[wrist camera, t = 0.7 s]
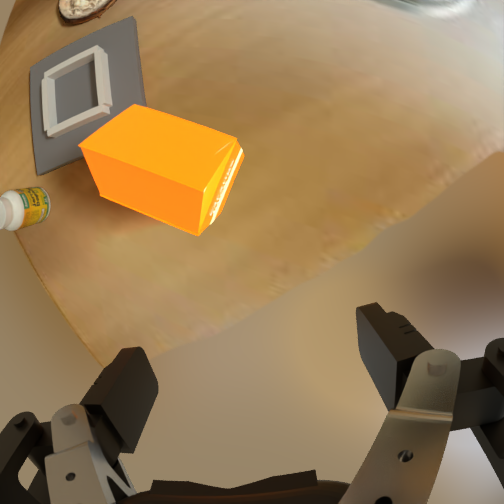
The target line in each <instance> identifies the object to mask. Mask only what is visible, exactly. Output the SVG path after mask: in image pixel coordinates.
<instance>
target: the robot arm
mask: <svg viewBox="0 0 504 504" xmlns="http://www.w3.org/2000/svg"><path fill="white" fill-rule="evenodd" d="M356 320H357V332H358V346H359V351H360V355H361V358H362V361H363V363H364V364H365V366H366V368H367V370H368V372H369V374H370V376H371V378H372V380H373V382H374V384H375V386H376V388H377V390H378V392H379V394H380V396H381V398H382V400H383V402H384V403H385V405H386V407H387V409H388V411H389V412H388V414H387V416H386V418H385V421H384V423H383V425H382V427H381V429H380V431H379V433H378V435H377V437H376V439H375V441H374V443H373V445H372V447H371V449H370V451H369V453H368V455H367V457H366V458H365V460H364V462H363V464H362V466H361V467H360V469H359V471H358V473H357V474H356V476H355V478H354V480H353V481H352V483H351V484H348V483H345V482H339V481H330V480H317V477H316V471H315V470H311V471H305V472H299V473H293V474H287V475H280V476H273V477H269V478H266V479H263V480H260V481H257V482H253V483H250V484H246V485H243V486H239V487H235V488H231V489H225V488H219V487H213V486H208V485H203V484H198V483H193V482H189V481H163V480H153V483H152V486H151V489H150V490H149V491H145V492H140V493H137V492H136V490H135V488H134V486H133V484H132V482H131V480H130V478H129V476H128V474H127V472H126V469H125V467H124V465H123V463H122V461H121V460H120V459H119V457H118V456H119V454H120V453H132V454H133V453H134V451H135V448H136V446H137V443H138V441H139V438H140V436H141V433H142V431H143V428H144V426H145V424H146V421H147V419H148V416H149V414H150V411H151V409H152V406H153V404H154V402H155V399H156V397H157V394H158V381H157V379H156V377H155V374H154V372H153V370H152V367H151V365H150V363H149V361H148V358H147V356H146V354H145V352H144V350H143V349H142V348H141V347H132V348H123V349H121V351H120V352H119V353H118V355H117V356H116V358H115V359H114V360H113V362H112V363H110V364H109V365H108V366H107V367H105V368H104V369H103V371H102V372H101V374H100V375H99V377H98V378H97V379H96V381H95V382H94V385H92V386H91V388H90V389H89V391H88V392H87V393H86V395H85V396H84V398H83V399H82V401H81V402H80V404H70V405H67V406H65V407H63V408H61V409H59V410H58V411H57V412H56V413H55V414H54V415H53V417H52V419H51V421H50V422H43V423H39V421H38V420H37V418H36V417H35V415H34V414H33V413H31V412H22V413H20V414H18V415H16V416H15V417H13V418H12V419H11V420H10V421H9V423H8V424H7V425H6V427H5V428H4V429H3V431H2V432H1V433H0V504H427V501H428V499H429V496H430V493H431V490H432V488H433V485H434V482H435V479H436V476H437V473H438V470H439V467H440V464H441V461H442V458H443V454H444V451H445V447H446V444H447V440H448V436H449V432H450V431H455V430H460V429H466V428H471V430H472V432H473V433H474V435H475V437H476V439H477V440H478V442H479V444H480V445H481V447H482V449H483V451H484V453H485V454H486V456H487V458H488V460H489V461H490V463H491V465H492V467H493V469H494V471H495V473H496V475H497V476H498V478H499V480H500V482H501V484H502V486H503V488H504V338H499V339H495V340H493V341H491V342H490V343H489V344H488V345H487V347H486V349H485V354H484V357H480V358H474V359H468V360H460V359H459V357H458V356H457V355H456V354H455V353H453V352H451V351H448V350H444V349H434V348H433V347H432V346H431V345H430V344H429V342H428V341H427V340H425V338H424V337H423V336H422V335H421V334H420V333H419V332H418V331H416V328H415V327H414V326H412V325H411V323H410V322H409V321H408V320H407V319H406V318H405V317H404V316H402V315H400V314H398V313H395V312H389V313H386V312H385V311H384V310H383V309H382V307H381V306H380V305H379V304H378V303H377V302H375V303H371V304H367V305H364V306H360V307H357V308H356ZM27 457H28V458H29V459H30V460H31V461H32V462H33V463H34V465H35V466H36V467H37V468H38V469H39V470H38V472H37V474H36V476H35V477H34V479H33V481H32V483H31V485H30V487H29V489H28V490H26V489H25V488H24V487H23V486H22V485H21V484H20V482H19V480H18V472H19V470H20V468H21V466H22V465H23V463H24V462H25V460H26V458H27Z"/></svg>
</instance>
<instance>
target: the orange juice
mask: <svg viewBox="0 0 504 504" xmlns="http://www.w3.org/2000/svg"><path fill="white" fill-rule="evenodd" d="M78 146H80V147H81V149H82V152H83V154H84V157H85V159H86V162H87V164H88V166H89V169H90V171H91V173H92V176H93V178H94V180H95V183H96V185H97V187H98V189H99V192H100V196H102V197H104V198H106V199H109V200H111V201H114V202H116V203H118V204H121V205H123V206H126V207H128V208H131V209H133V210H135V211H138V212H140V213H143V214H145V215H147V216H150V217H152V218H155V219H157V220H160V221H162V222H164V223H167V224H169V225H172V226H174V227H177V228H179V229H181V230H184V231H186V232H189V233H191V234H194V235H196V236H199V235H200V234H201V233H202V232H203V231H204V230H205V229H206V227H207V226H208V225H209V224H211V223H212V222H213V221H214V219H215V218H216V217H217V216H218V215H219V214H220V213H221V211H222V209H223V206H224V204H225V201H226V199H227V196H228V194H229V191H230V189H231V187H232V184H233V182H234V179H235V177H236V175H237V172H238V170H239V167H240V165H241V163H242V160H243V158H244V156H245V155H244V153H243V150H242V148H240V146H239V144H238V142H237V138H234V137H232V136H229V135H226V134H224V133H221V132H218V131H216V130H213V129H210V128H207V127H205V126H202V125H199V124H196V123H193V122H190V121H187V120H184V119H181V118H178V117H175V116H172V115H169V114H166V113H163V112H159V111H156V110H153V109H150V108H146V107H143V106H139V105H136V104H134V105H132V106H131V107H129V108H128V109H126V110H125V111H123V112H122V113H121V114H119V115H118V116H116V117H115V118H113V119H112V120H111V121H109V122H108V123H107V124H105V125H104V126H102V127H101V128H100V129H98V130H97V131H96V132H95V133H93V134H92V135H91V136H89V137H88V138H87V139H86V140H84V141H83V142H82V143H81V144H79V145H78Z"/></svg>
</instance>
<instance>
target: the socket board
mask: <svg viewBox="0 0 504 504" xmlns="http://www.w3.org/2000/svg"><path fill="white" fill-rule="evenodd" d="M30 101H31V121H32V134H33V145H34V154H35V161H36V169H37V175H44V174H46V173H49V172H51V171H53V170H55V169H58V168H60V167H62V166H65V165H67V164H69V163H72V162H74V161H77V160H79V159H82V158H84V154H83V152H82V149H81V147H80V146H78V145H79V144H81V143H82V142H83V141H84V140H86V139H87V138H88V137H89V136H91V135H92V134H93V133H95V132H96V131H97V130H98V129H100V128H101V127H102V126H104V125H105V124H107V123H108V122H109V121H111V120H112V119H113V118H115V117H116V116H118V115H119V114H121V113H122V112H123V111H125V110H126V109H128V108H129V107H131V106H132V105H134V104H136V105H139V106H143V107H146V108H147V106H146V100H145V93H144V86H143V78H142V71H141V63H140V55H139V46H138V36H137V26H136V20H135V19H134V17H133V16H131V17H128V18H126V19H123V20H121V21H118V22H116V23H114V24H111V25H109V26H107V27H104V28H102V29H100V30H98V31H95V32H93V33H91V34H89V35H87V36H85V37H83V38H81V39H79V40H77V41H75V42H73V43H71V44H69V45H67V46H65V47H64V48H62V49H60V50H58V51H56V52H55V53H53V54H51V55H49V56H48V57H46V58H44V59H43V60H41V61H40V62H38V63H36V64H35V65H33V66H32V67H30Z"/></svg>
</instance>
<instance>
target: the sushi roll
mask: <svg viewBox="0 0 504 504" xmlns="http://www.w3.org/2000/svg"><path fill="white" fill-rule="evenodd" d="M116 1H117V0H59V12H60V14H61V17H62V19H64V20H65V21H66V22H68V23H72V24H80V23H83V22H86V21H89V20H91V19H93V18H96V17H97V16H99V18H101V17H100V15H101V14H102V13H104V12H105V11H106V10H107V9H109V8H110V7H111V6H113V4H114V3H115V2H116ZM65 21H64V24H65Z"/></svg>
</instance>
